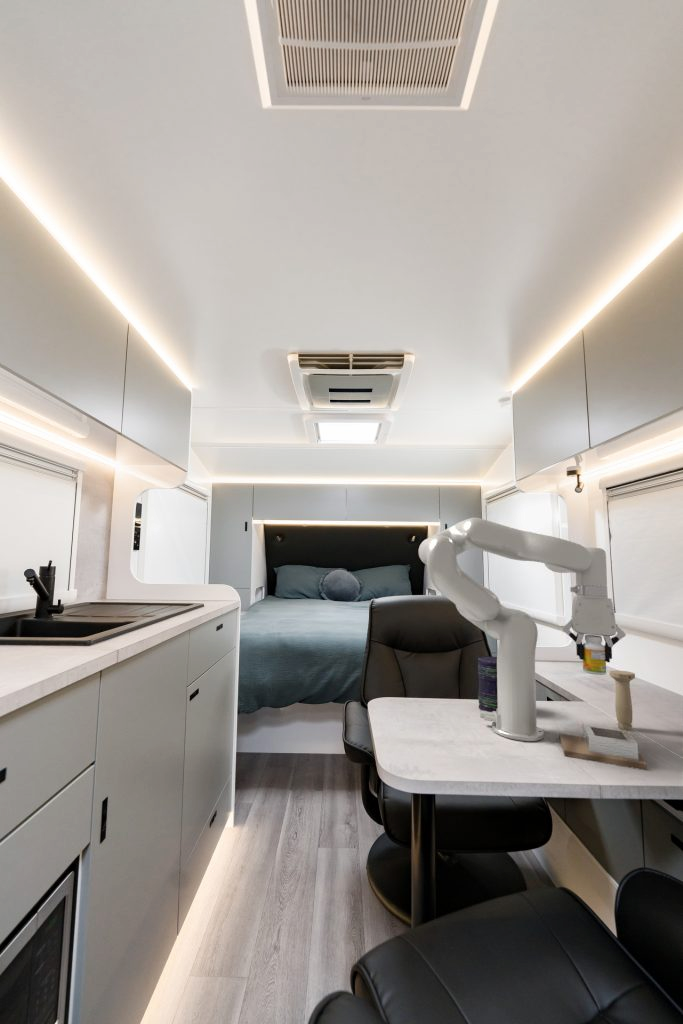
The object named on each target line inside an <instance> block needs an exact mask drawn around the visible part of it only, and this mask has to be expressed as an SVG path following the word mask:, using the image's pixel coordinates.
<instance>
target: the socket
mask: <svg viewBox="0 0 683 1024" xmlns="http://www.w3.org/2000/svg"><path fill="white" fill-rule="evenodd" d="M581 725H582V726H581V727H582V737H583V740H584V742H585V744H586V746H587V749H588V751H589V753H594V754H600V755H605V756H611V757H617V758H623V759H629V760H635V761H639V760H638V753H639V747H638V746H639V745H638V744H639V743H637V740H635V739H634V738H633V736H632V735H631V733H630V732H629V730H623V729H621V728H616V727H608V726H607V727H606V726H601V725H593V724H588V723H582V724H581Z"/></svg>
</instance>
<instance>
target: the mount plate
mask: <svg viewBox="0 0 683 1024" xmlns="http://www.w3.org/2000/svg"><path fill="white" fill-rule="evenodd" d="M558 739H559V743H560V745H561V749H562V752H563V755H564V757H568V758H574V759H579V760H585V761H586V760H587V761H590V760H591V761H592V762H596V761H597V763H602V762H603V763H602V764H608V763H609V764H610V765H613V764H616V765H615V766H619V765H620V767H625V766H628V767H627V768H631V767H633V769H636V768H638V769H637V770H642V769H643V770H644V771H648V764H647V763H646V761H645V760H644V758H643V757H642V756H641V754H640V753H639V752H638V760H639V761H635V760H629V759H623V758H617V757H611V756H605V755H600V754H594V753H589V751H588V749H587V746H586V744H585V742H584V740H583V736H579V735H575V734H574V735H573V734H567V733H566V734H565V733H560V732H559V733H558ZM591 761H590V762H591Z"/></svg>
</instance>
